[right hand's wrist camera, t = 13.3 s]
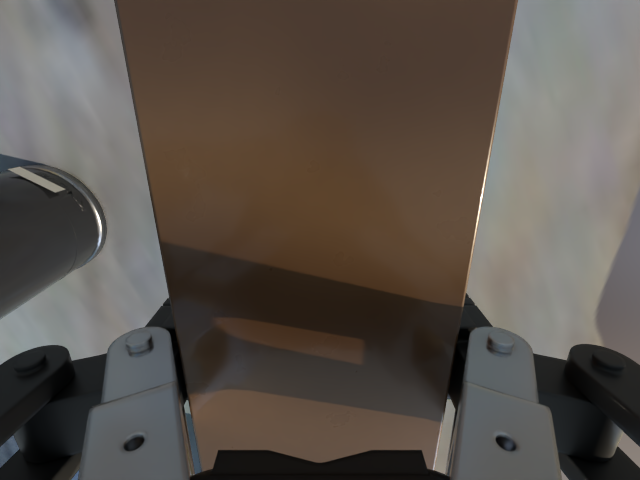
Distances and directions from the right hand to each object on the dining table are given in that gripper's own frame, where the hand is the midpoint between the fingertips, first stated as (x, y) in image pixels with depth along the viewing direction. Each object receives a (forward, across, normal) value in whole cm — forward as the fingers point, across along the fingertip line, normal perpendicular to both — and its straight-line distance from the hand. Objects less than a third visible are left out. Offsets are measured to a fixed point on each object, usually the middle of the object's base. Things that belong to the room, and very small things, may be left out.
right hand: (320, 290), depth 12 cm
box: (+7, 0, +7) cm, 10 cm away
